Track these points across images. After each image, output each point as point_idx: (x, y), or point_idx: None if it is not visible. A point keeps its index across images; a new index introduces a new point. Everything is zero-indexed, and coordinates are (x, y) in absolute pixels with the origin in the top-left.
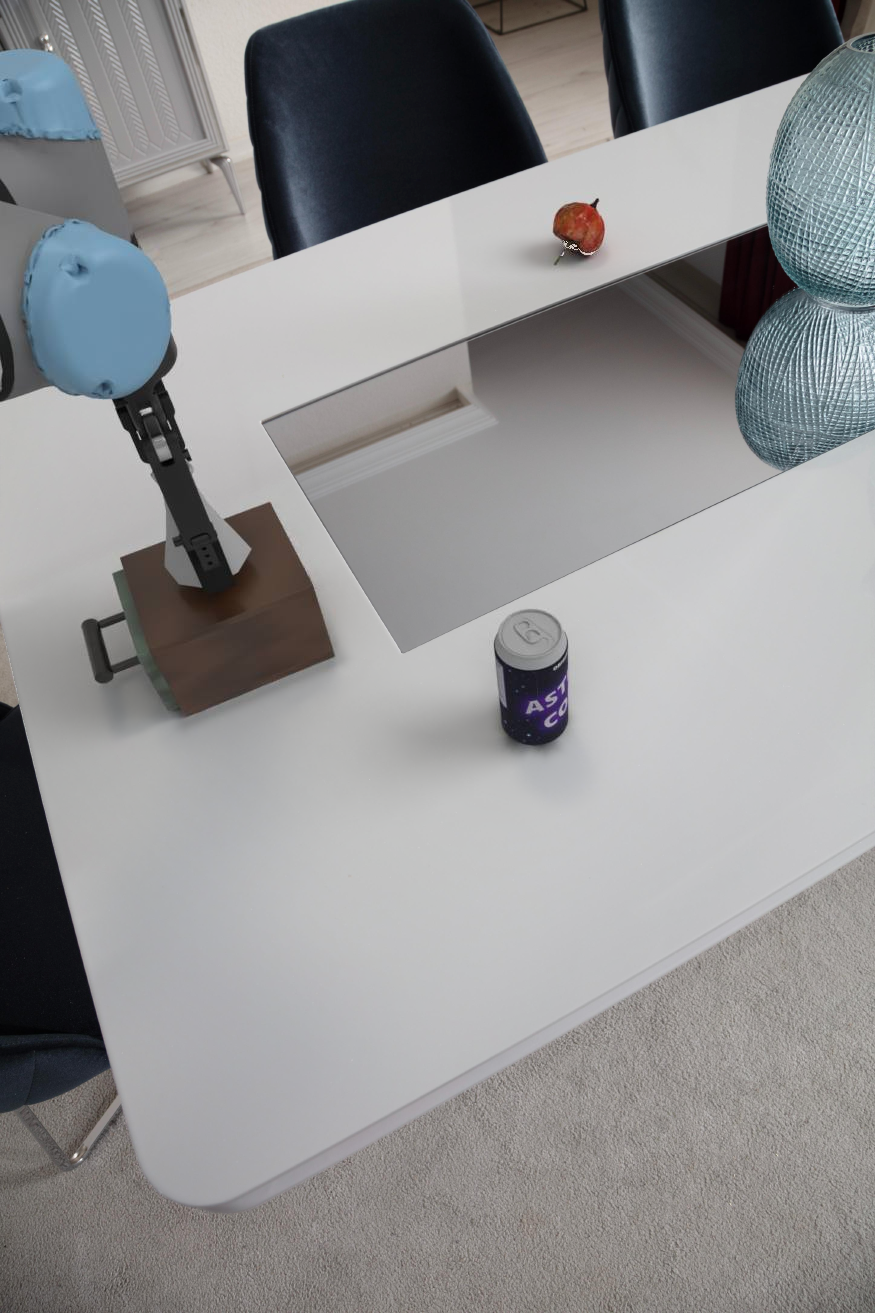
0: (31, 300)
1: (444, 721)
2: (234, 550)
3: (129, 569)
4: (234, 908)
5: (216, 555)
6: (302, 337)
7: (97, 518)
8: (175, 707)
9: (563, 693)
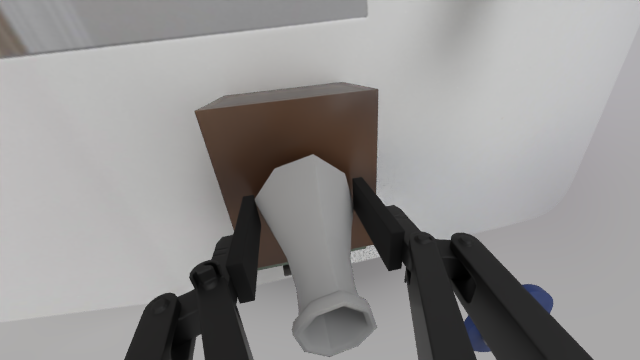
0: None
1: (450, 6)
2: (333, 179)
3: (268, 261)
4: (476, 180)
5: (406, 216)
6: None
7: (99, 255)
8: None
9: None
